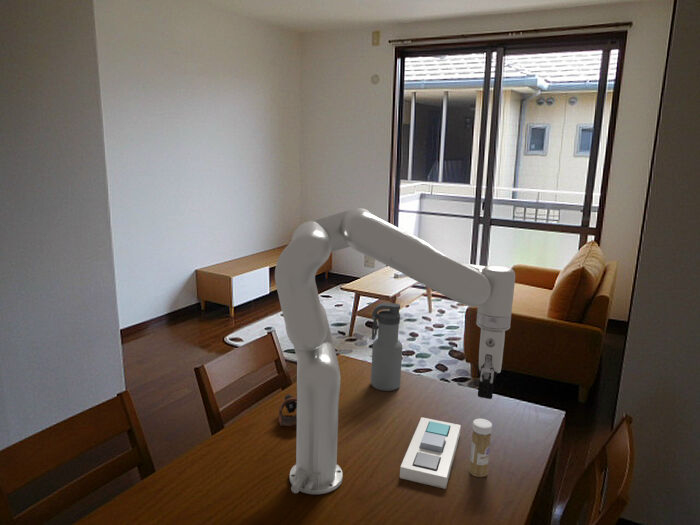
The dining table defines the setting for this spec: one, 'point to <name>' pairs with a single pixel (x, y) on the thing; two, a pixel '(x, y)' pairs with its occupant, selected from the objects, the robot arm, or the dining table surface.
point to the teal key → (438, 428)
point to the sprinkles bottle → (480, 447)
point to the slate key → (433, 442)
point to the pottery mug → (291, 407)
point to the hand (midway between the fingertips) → (486, 388)
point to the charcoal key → (427, 461)
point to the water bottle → (386, 348)
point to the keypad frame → (446, 457)
